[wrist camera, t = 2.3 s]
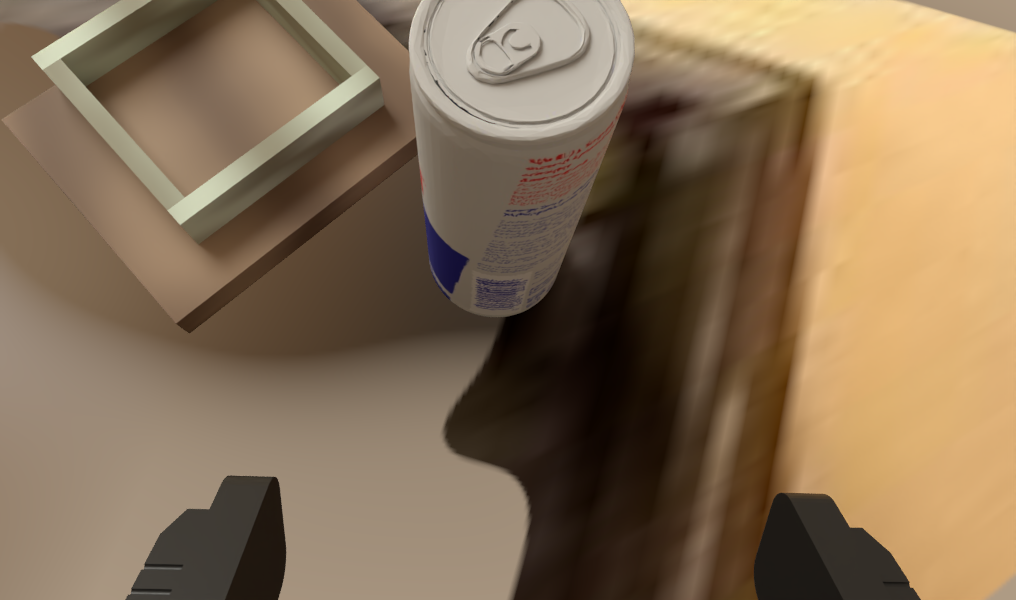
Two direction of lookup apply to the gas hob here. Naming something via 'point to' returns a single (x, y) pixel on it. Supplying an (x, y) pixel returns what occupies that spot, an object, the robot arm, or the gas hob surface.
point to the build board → (218, 133)
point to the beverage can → (512, 136)
